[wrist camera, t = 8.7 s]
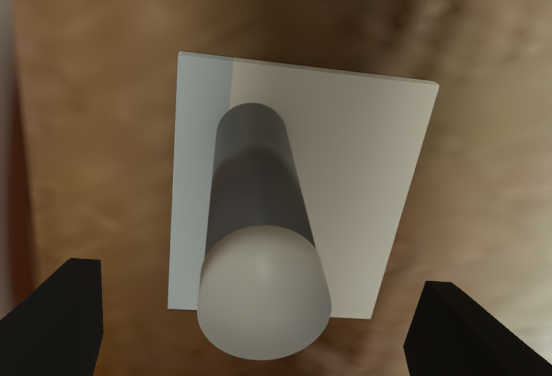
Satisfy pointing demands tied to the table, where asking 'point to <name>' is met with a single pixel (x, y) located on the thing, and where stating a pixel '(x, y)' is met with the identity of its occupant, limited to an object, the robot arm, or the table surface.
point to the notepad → (304, 163)
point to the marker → (259, 244)
